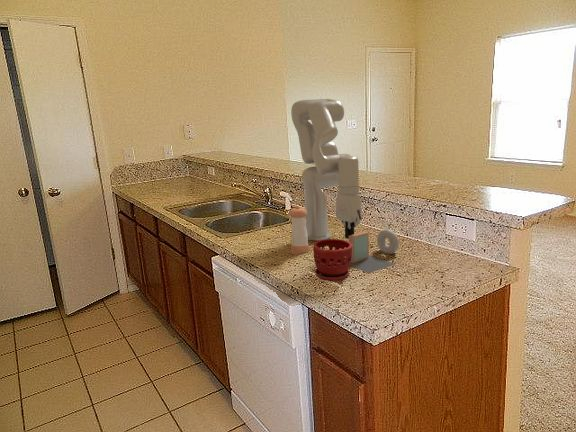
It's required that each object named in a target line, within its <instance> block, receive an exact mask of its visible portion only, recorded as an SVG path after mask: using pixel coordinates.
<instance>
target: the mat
mask: <svg viewBox="0 0 576 432" xmlns="http://www.w3.org/2000/svg"><path fill="white" fill-rule="evenodd" d="M395 265H396V263H393V262H391V261H387V260H385V259H382V258H379V257H375V256H373V255H370V254H369V258H367V259H364V260H361V261H358V262H355V263H350V266H349V267H352V268H354V269H358V270H360V271H362V272H365V273H367V274H370V273H373V272H377V271H380V270H382V269H383V270H384V269H386V268H389V267H392V266H395Z"/></svg>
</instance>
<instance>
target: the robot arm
mask: <svg viewBox="0 0 576 432" xmlns="http://www.w3.org/2000/svg"><path fill="white" fill-rule="evenodd" d="M290 113H291V121H292V123H293V126H294V128H295V130H296V132H297V135H298V143H299V147H300V149H299V150H300V153H301V157H302V161H303V162H304V163H305V164H308V165H315V166H310V167H306V168H305V169H304V170H302V173H301V180H302V181H301V182H302V185H303V190H304V201H305V209H306V211H307V215H306V216H305V222H306V230H307V235H308V241H320V240H325V239H331V237H332V236H333V235H332V233H331V232H330V231H329V226H328V225H329V223H328V222H329V221H328V201H327V199H328V198H327V196H326V194H325V193H324V192H323V190H322V189H324V188H333V187H337V189H338V192H337V194H336V198H335V199H336V200H335V217H336V219H338V220H339V221H340V222H341V223H342V224H343V228H344V238H345V239H347V240H349V236H350V235H353V234H355V228H356V226H360V225H361V220H362V215H363V212H362V211H363V210H362V200H361V195H360V177H359V173H360V171H359V158H358V157H357V156H353V155H350V154H349V153H340V154H339V150H338V147H337V145H336V143H335V142H333V141H334V139H336V138H337V136H338V135H339V134H338V133H339V131H338V127H337V125H336V123H335V122H341V121H342V120H343V119H344V117H345V109H344V106H343V104H342V103H341V101H339V100H336V99H331V98H319V99H318V98H317V99H316V98H315V99H303V100H302V99H301V100H297V101H295V102H294V103H293V104H292V106H291V112H290ZM310 121H311V122H310Z"/></svg>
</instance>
